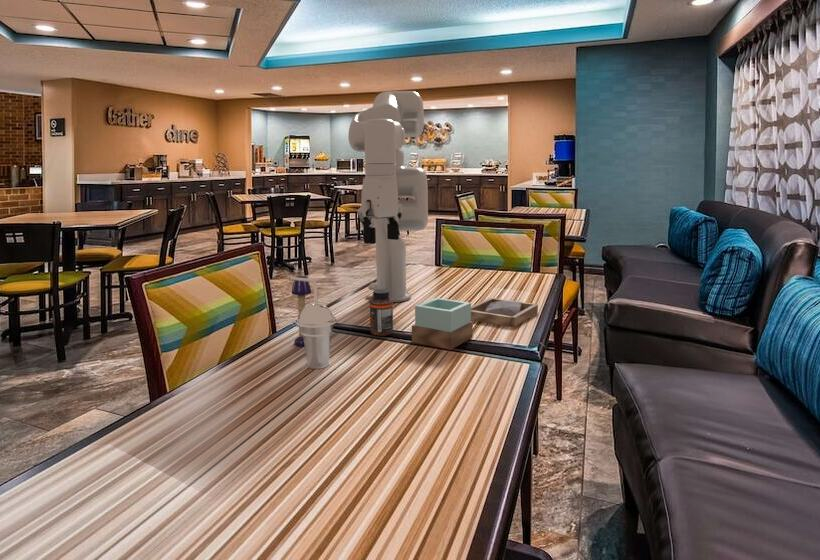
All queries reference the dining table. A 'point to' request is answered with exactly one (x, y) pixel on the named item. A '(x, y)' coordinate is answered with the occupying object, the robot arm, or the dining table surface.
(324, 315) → the cup with straw
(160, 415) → the dining table surface
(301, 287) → the toy lamp
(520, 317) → the frame
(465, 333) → the tower base
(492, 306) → the stone block
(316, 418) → the dining table surface
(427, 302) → the tower top
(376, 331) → the supplement bottle
